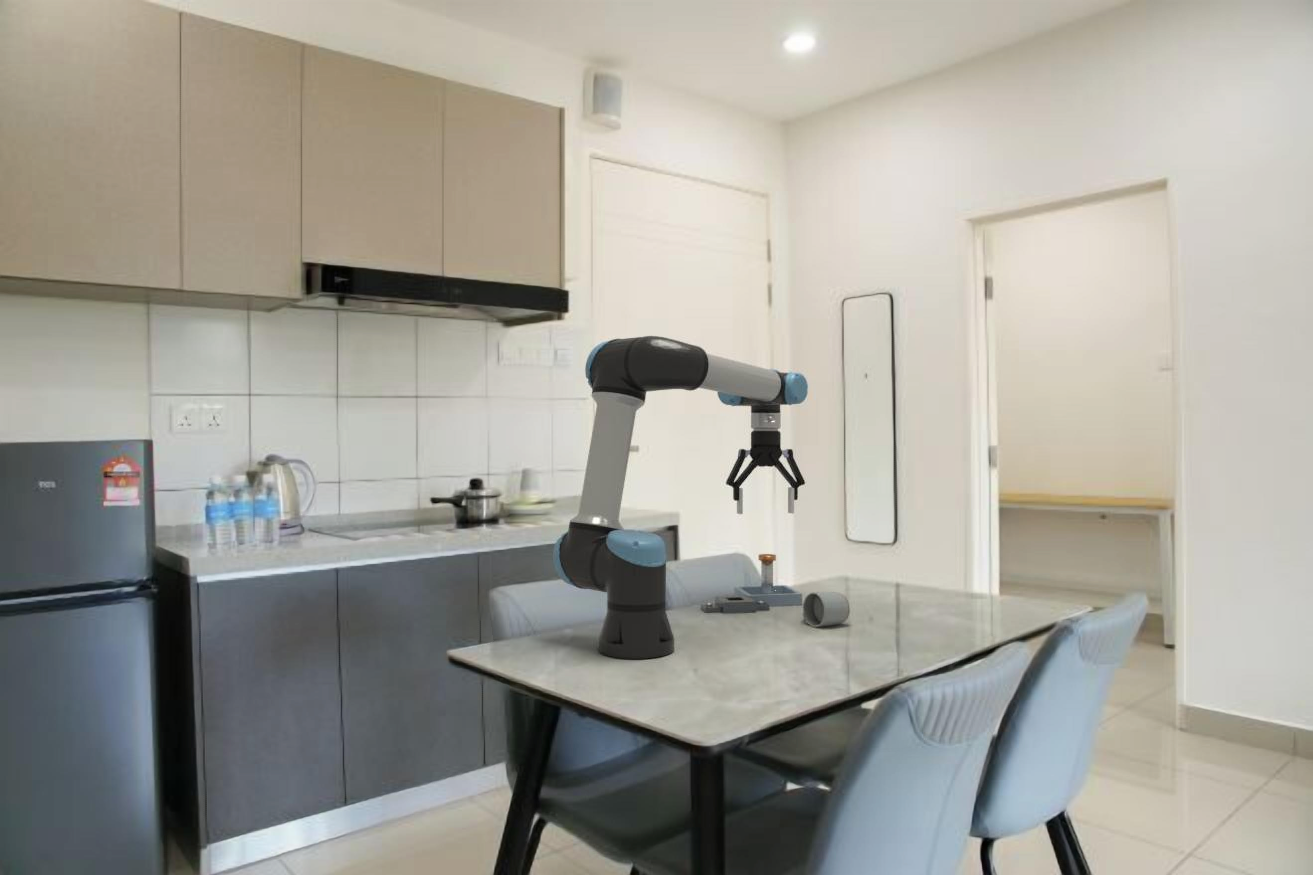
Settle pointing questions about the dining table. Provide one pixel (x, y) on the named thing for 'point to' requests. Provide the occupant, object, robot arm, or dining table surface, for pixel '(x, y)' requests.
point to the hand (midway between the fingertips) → (765, 513)
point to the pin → (767, 573)
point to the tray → (771, 595)
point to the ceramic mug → (825, 609)
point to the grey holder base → (734, 605)
